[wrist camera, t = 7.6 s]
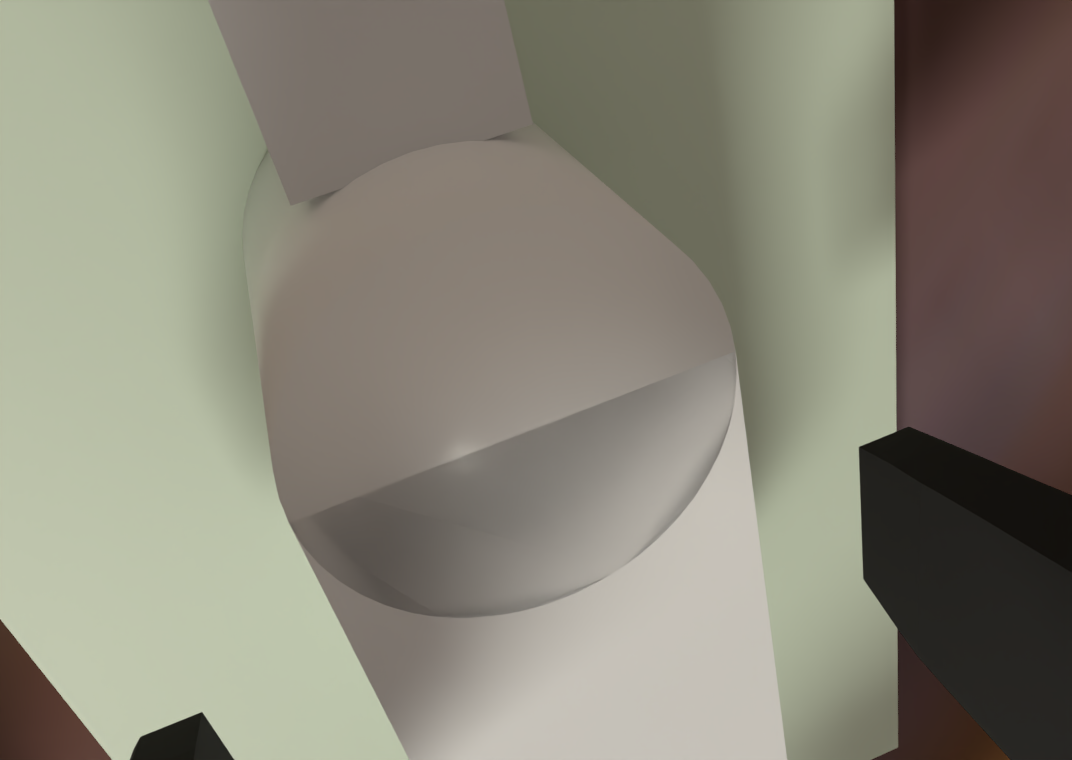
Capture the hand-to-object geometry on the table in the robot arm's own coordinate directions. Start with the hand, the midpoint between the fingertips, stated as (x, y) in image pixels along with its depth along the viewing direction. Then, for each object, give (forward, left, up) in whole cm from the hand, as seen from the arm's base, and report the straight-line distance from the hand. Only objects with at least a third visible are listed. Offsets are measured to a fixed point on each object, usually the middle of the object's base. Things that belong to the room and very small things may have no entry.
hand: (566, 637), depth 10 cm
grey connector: (+1, 0, -3) cm, 3 cm away
